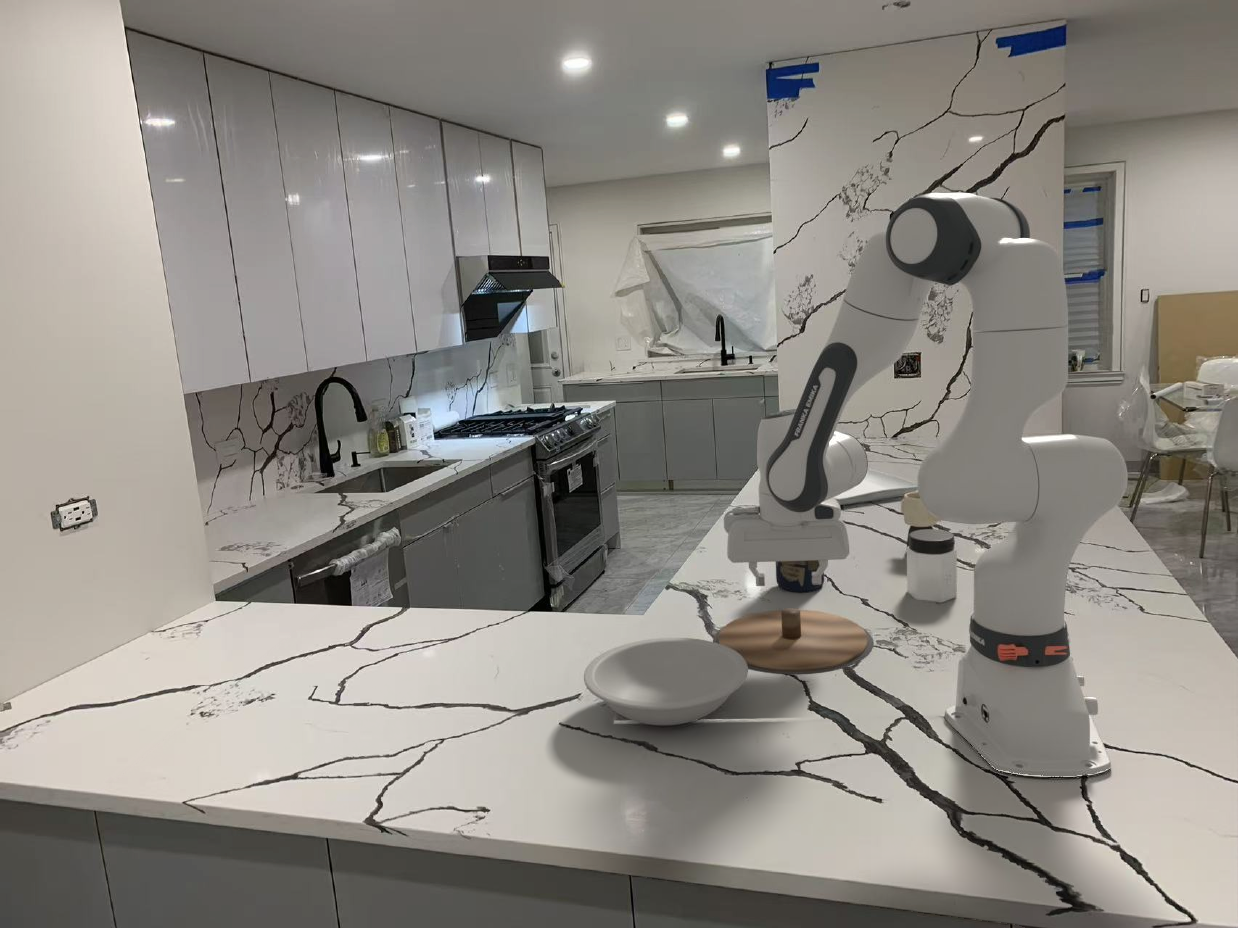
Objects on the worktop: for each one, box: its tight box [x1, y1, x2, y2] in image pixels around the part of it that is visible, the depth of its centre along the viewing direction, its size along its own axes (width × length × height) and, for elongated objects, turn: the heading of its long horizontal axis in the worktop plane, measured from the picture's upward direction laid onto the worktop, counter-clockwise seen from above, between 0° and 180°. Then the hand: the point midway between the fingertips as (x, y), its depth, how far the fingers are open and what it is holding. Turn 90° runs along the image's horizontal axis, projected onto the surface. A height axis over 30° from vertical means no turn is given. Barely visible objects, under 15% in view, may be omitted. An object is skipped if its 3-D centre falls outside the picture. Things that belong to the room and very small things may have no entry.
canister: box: [775, 560, 825, 593], centre depth 177 cm, size 10×10×18 cm
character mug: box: [900, 491, 942, 551], centre depth 194 cm, size 11×7×13 cm, turn 30°
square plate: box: [833, 468, 918, 506], centre depth 252 cm, size 27×27×4 cm
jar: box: [906, 528, 958, 604], centre depth 168 cm, size 9×8×12 cm
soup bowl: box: [583, 637, 749, 726], centre depth 130 cm, size 24×24×7 cm
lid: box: [718, 607, 867, 671], centre depth 151 cm, size 25×25×5 cm
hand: (788, 584), depth 150 cm, fingers open, 8 cm apart
